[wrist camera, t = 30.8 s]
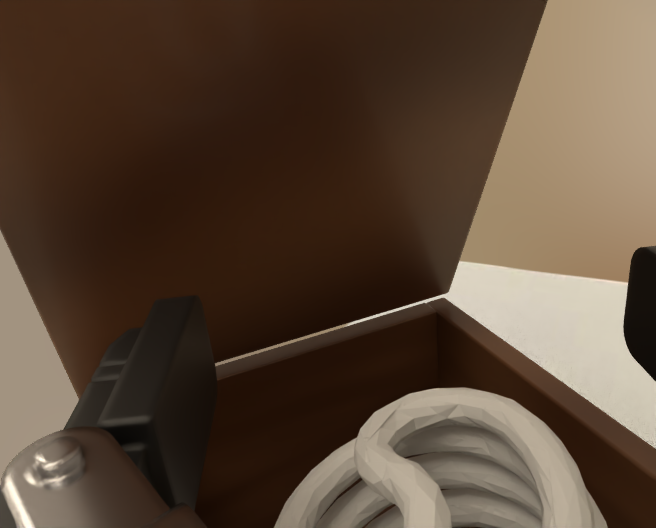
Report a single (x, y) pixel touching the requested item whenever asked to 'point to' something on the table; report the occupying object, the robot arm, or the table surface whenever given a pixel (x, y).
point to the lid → (246, 158)
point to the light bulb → (447, 470)
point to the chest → (382, 389)
